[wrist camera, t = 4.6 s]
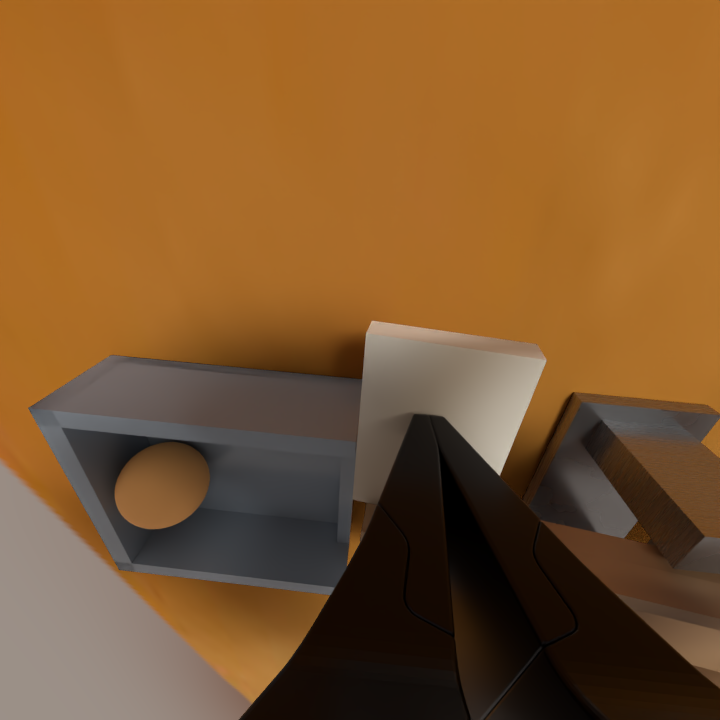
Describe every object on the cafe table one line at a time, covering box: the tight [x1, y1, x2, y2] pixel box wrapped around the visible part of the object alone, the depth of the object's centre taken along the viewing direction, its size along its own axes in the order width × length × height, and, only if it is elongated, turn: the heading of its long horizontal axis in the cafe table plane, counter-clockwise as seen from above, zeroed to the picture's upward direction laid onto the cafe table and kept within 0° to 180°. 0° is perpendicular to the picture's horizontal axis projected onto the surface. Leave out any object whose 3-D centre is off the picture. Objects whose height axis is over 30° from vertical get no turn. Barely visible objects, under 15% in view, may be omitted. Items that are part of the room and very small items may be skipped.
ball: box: [115, 442, 210, 529], centre depth 14 cm, size 3×3×3 cm
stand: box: [365, 392, 720, 574], centre depth 13 cm, size 20×10×5 cm, turn 86°
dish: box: [28, 355, 362, 595], centre depth 14 cm, size 10×9×4 cm
